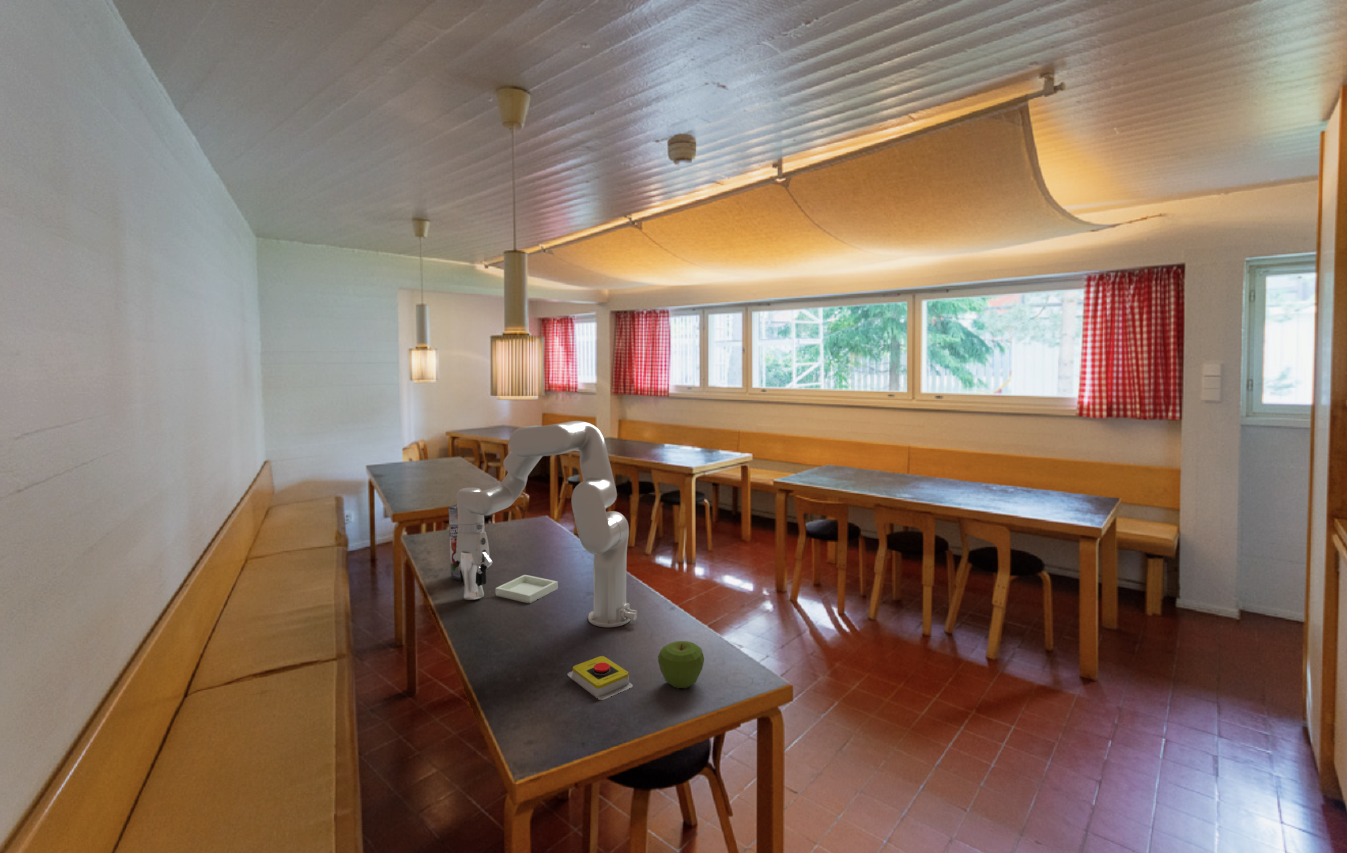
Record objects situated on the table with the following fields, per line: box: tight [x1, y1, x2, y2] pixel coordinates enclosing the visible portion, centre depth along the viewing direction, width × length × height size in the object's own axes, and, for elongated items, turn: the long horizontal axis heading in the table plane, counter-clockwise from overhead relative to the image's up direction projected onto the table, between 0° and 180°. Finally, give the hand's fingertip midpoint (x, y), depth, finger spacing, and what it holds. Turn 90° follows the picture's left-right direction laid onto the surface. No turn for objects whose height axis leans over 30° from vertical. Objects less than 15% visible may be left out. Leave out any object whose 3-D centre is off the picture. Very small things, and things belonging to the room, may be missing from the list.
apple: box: [657, 640, 705, 689], centre depth 136 cm, size 11×10×10 cm
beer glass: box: [461, 551, 485, 601], centre depth 185 cm, size 7×7×15 cm
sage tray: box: [495, 574, 559, 604], centre depth 191 cm, size 14×14×2 cm
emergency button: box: [566, 655, 634, 701], centre depth 137 cm, size 9×4×15 cm
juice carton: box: [448, 504, 485, 581], centre depth 203 cm, size 9×10×27 cm
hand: (473, 582), depth 185 cm, fingers closed on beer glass, 6 cm apart
